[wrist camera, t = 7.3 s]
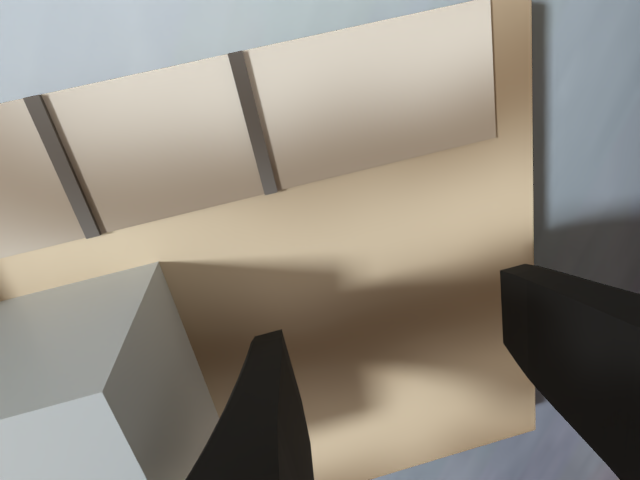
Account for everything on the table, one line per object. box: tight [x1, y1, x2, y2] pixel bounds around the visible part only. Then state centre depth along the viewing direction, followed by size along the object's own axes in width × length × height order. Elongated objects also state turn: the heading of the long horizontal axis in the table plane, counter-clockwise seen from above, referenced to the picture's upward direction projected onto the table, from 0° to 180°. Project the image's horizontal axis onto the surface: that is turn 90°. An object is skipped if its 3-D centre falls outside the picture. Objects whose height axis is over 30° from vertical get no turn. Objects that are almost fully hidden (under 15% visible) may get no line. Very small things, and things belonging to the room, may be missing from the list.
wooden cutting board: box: [0, 0, 535, 480], centre depth 11 cm, size 13×26×1 cm, turn 101°
